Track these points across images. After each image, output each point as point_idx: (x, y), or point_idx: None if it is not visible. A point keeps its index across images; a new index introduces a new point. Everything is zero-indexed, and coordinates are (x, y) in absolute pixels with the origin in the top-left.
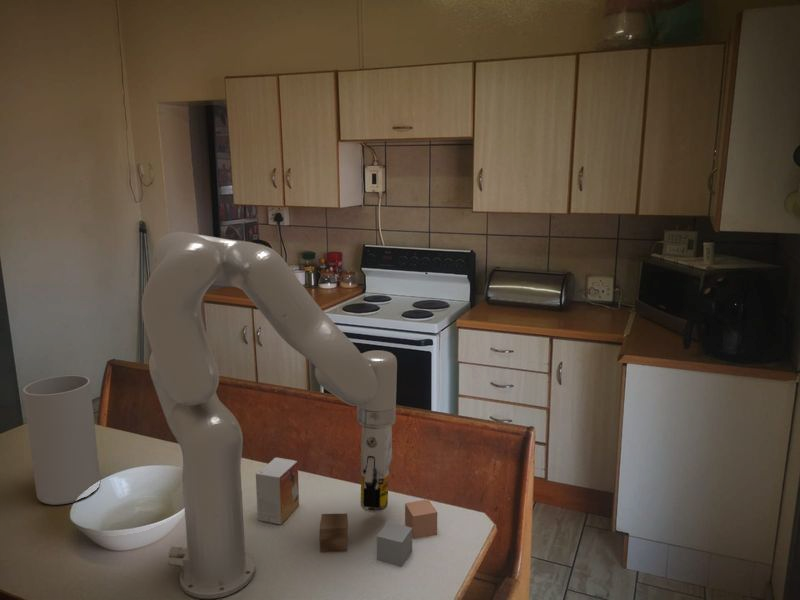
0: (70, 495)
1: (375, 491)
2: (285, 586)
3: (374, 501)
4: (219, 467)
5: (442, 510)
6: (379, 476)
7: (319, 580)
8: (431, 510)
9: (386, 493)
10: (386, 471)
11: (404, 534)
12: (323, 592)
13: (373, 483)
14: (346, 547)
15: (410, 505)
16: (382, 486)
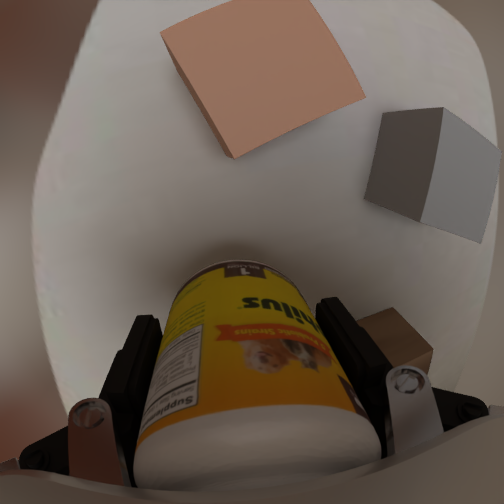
0: None
1: (387, 372)
2: (459, 356)
3: (367, 335)
4: None
5: (93, 43)
6: (401, 445)
7: (461, 316)
8: (287, 5)
9: (275, 302)
10: (486, 446)
11: (475, 142)
12: (484, 295)
13: (487, 412)
14: (399, 314)
15: (255, 120)
16: (334, 363)
